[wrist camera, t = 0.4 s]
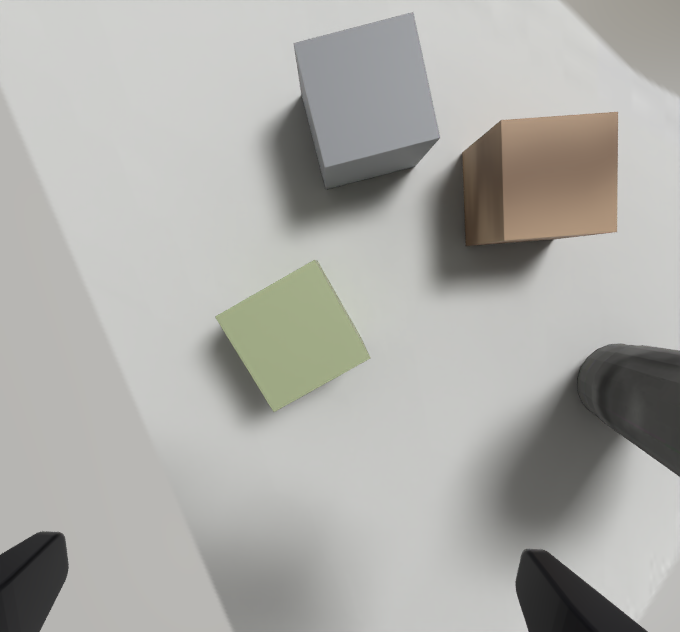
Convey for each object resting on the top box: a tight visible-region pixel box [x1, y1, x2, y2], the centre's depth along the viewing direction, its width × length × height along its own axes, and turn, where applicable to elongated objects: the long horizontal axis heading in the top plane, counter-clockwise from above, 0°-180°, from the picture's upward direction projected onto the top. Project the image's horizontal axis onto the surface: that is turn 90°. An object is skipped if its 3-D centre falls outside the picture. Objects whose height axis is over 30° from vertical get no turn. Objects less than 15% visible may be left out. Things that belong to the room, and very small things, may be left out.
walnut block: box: [462, 112, 618, 246], centre depth 20 cm, size 5×5×5 cm
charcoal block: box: [294, 12, 440, 189], centre depth 19 cm, size 5×5×5 cm
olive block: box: [216, 260, 370, 412], centre depth 20 cm, size 5×5×5 cm
